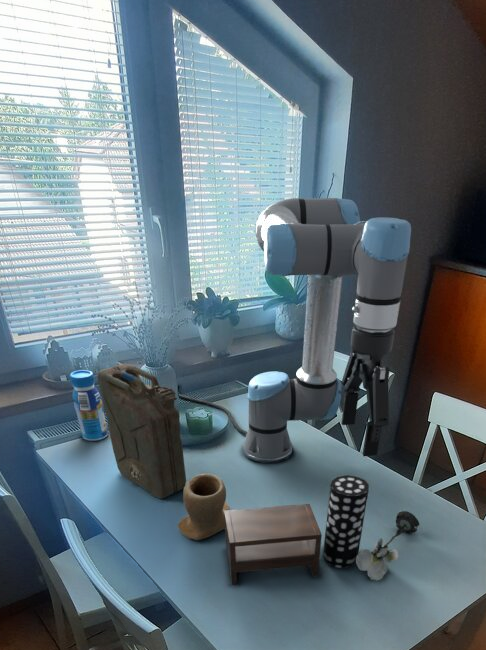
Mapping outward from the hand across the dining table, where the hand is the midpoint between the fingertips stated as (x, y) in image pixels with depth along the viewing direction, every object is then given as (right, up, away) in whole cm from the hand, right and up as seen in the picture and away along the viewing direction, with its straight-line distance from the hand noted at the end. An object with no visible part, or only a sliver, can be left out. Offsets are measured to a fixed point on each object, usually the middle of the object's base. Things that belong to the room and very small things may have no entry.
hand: (358, 438), depth 105 cm
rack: (-18, -25, +18) cm, 35 cm away
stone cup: (-33, -15, +27) cm, 46 cm away
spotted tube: (-1, -23, +20) cm, 31 cm away
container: (-52, 0, +44) cm, 68 cm away
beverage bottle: (-75, +19, +63) cm, 100 cm away
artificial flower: (+11, -22, +21) cm, 33 cm away
